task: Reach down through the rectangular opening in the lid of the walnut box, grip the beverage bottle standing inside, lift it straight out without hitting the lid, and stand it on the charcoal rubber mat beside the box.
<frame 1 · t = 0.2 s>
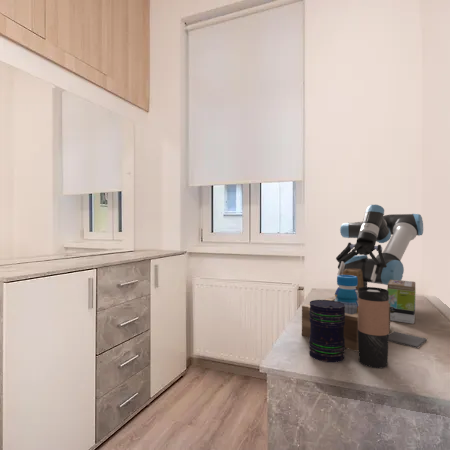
hand: (355, 278, 130), 16 cm above the countertop, tool tilted 35°, fingers open, 13 cm apart
beverage bottle: (346, 333, 110), resting in walnut box
storage jar: (326, 356, 91), on the countertop
charcoal mat: (404, 340, 104), on the countertop
block: (352, 317, 131), on the countertop
travel mug: (372, 363, 86), on the countertop
tea box: (401, 318, 131), on the countertop
walnut box: (346, 333, 110), on the countertop
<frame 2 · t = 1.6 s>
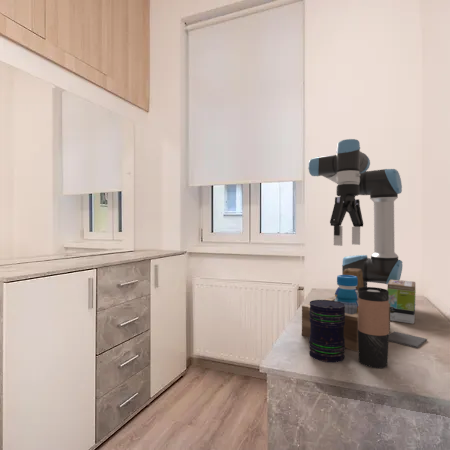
hand: (347, 245, 111), 31 cm above the countertop, tool pointing down, fingers open, 13 cm apart
nothing on the countertop moved.
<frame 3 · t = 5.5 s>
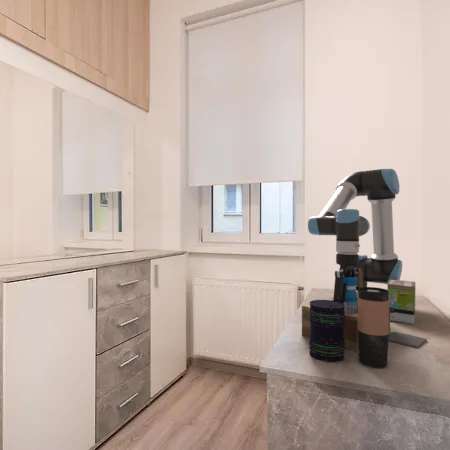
hand: (347, 318, 111), 5 cm above the countertop, tool pointing down, fingers closed on beverage bottle, 8 cm apart
beverage bottle: (346, 333, 110), resting in walnut box, touching gripper
everything else where it was.
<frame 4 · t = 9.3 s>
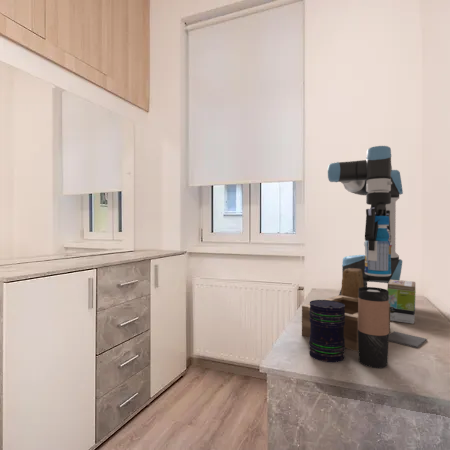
hand: (378, 259, 107), 26 cm above the countertop, tool pointing down, fingers closed on beverage bottle, 8 cm apart
beverage bottle: (377, 275, 107), point 21 cm above the countertop, touching gripper
everything else where it was.
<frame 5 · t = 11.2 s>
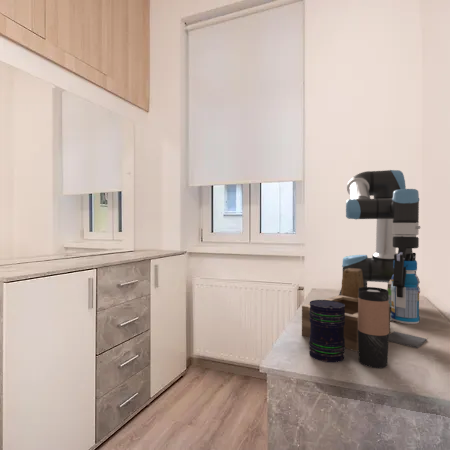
hand: (405, 304, 104), 12 cm above the countertop, tool pointing down, fingers closed on beverage bottle, 8 cm apart
beverage bottle: (404, 321, 104), point 6 cm above the countertop, touching gripper
everything else where it was.
when the fingers open (7 cm above the countertop, at t = 13.1 s): beverage bottle drops 1 cm, resting on charcoal mat.
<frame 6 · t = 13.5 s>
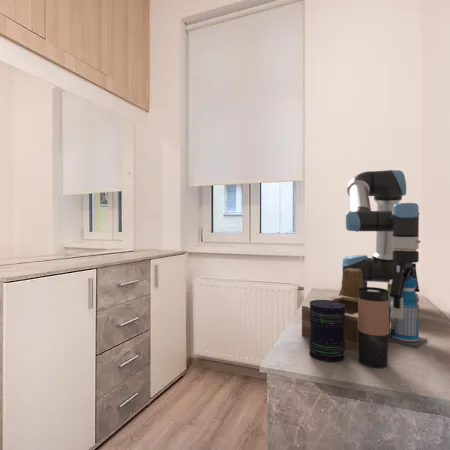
hand: (405, 314, 104), 8 cm above the countertop, tool pointing down, fingers open, 13 cm apart
beverage bottle: (404, 338, 104), resting on charcoal mat
everything else where it was.
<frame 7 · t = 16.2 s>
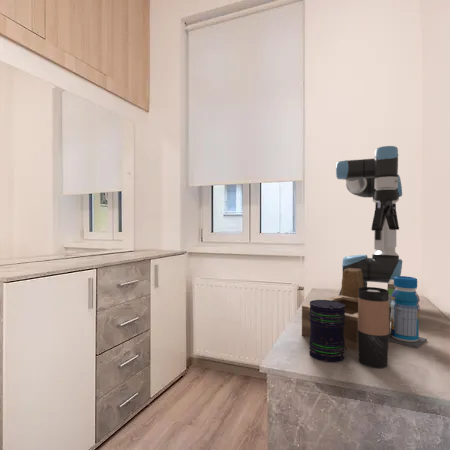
hand: (385, 248, 115), 30 cm above the countertop, tool pointing down, fingers open, 13 cm apart
nothing on the countertop moved.
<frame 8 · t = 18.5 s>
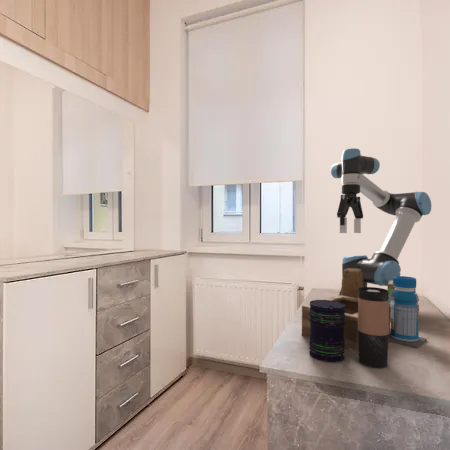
hand: (350, 233, 139), 35 cm above the countertop, tool pointing down, fingers open, 13 cm apart
nothing on the countertop moved.
at the end: beverage bottle inside the target area on the charcoal mat (0.2 cm from its centre), point 0.4 cm above the charcoal mat's base; beverage bottle tilted 0°; the gripper is holding nothing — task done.
